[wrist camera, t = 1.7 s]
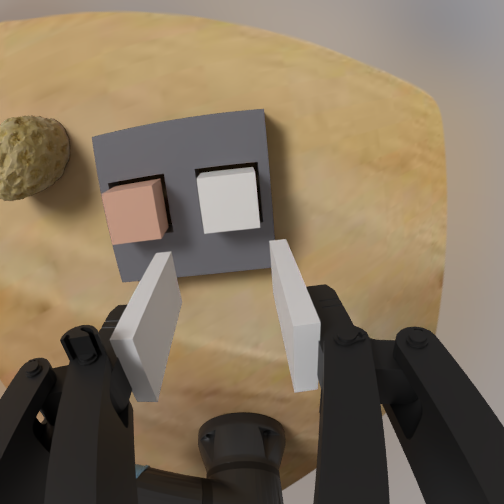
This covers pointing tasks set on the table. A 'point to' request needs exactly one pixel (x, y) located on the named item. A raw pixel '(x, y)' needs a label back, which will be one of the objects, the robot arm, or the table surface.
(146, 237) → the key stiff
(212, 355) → the table surface
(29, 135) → the rock
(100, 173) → the key panel
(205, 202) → the key soft
